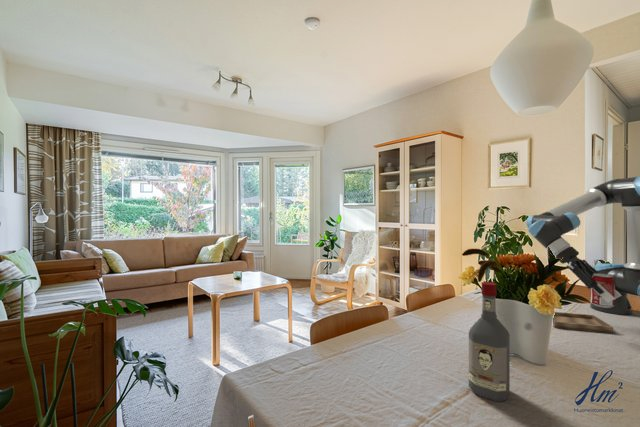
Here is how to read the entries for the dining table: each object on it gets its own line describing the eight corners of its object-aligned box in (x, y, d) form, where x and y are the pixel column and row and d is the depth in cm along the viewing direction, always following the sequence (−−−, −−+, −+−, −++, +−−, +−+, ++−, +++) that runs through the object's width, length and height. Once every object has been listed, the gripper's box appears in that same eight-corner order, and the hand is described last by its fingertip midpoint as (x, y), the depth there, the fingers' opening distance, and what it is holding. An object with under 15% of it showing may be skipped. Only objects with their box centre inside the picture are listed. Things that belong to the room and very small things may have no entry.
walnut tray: (593, 320, 137) (593, 315, 137) (613, 333, 122) (613, 327, 122) (541, 316, 143) (541, 310, 143) (554, 327, 129) (554, 321, 129)
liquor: (474, 378, 91) (474, 278, 91) (510, 389, 85) (510, 282, 85) (466, 392, 84) (466, 284, 83) (505, 405, 78) (505, 289, 78)
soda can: (615, 309, 113) (616, 277, 113) (591, 306, 117) (591, 275, 117) (612, 305, 118) (613, 274, 118) (589, 301, 122) (589, 272, 122)
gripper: (565, 254, 136) (614, 300, 122) (544, 258, 125) (596, 308, 112) (580, 244, 131) (632, 289, 117) (560, 247, 121) (615, 298, 107)
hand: (614, 299), depth 115 cm, fingers closed on soda can, 7 cm apart
